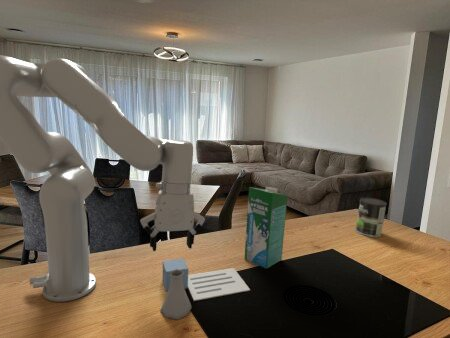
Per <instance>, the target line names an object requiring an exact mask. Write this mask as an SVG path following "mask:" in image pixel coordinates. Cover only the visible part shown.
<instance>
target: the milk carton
mask: <svg viewBox="0 0 450 338" xmlns="http://www.w3.org/2000/svg"><path fill="white" fill-rule="evenodd" d="M278 190H279V189H278V188H275V187H271V186H270V187H269V186H265V188H258V187H251V186H249V187H248V200H247V213H246V231H245V244H244V245H245V246H244V259H245V260H246V261H248V262H250V263H253V264H255V265H257V266H259V267H261V268H264V269H266V270H267V269H268V268H270V267H272V266H273V265H275V264H277V263H278V262H280V261H282V260H283V259H282V258H283V249H284V247H283V246H284V238H285V225H286V215H287V214H286V213H287V204H288V195H287V194H283V193H279V192H278Z"/></svg>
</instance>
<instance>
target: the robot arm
mask: <svg viewBox="0 0 450 338" xmlns="http://www.w3.org/2000/svg"><path fill="white" fill-rule="evenodd" d="M18 97H29V98H30V97H31V98H33V97H34V98H37V97H38V98H57V99H59V100H60V102H62V103H63V104H64V105H66V107H67V108H69V109H70V110H72V112H73V113H75V114H76V115H77V116H78V117H80V118H81V119H82V120H84V121H85V122H86V123H87V124H88V125H89V126H90V127H91V128H92V130H93V131H94V132H95V134H97V136H99V138H101V140H102V141H103V142H104V143H105V144H106V145H107V146H108V147H109V148H110V149H111V150H112V151H113V152H114V153H115V154H116V155H117V156H119V157H120V158H122V159H123V160H124V161H125V162H126V163H127V164H128V165H130V166H131V167H133V168H134V169H136V170H138V171H142V172H148V171H153V170H154V169H156V168H157V167H158V166H159V165H161V166H162V171H161V174H162V175H161V181H160V182H156V183H155V188H156V189H160V190H159V191H158V193H157V196H156V197H157V198H156V200H155V210H154V212H153V213H152V212H151V214H148V215H147V216H144V217H142V218H141V219H140V220H139V221H140V224H141V226H142V228H143V229H144V231H145V232H146V233H147V234H148V235H149V237H150V238H149V247H150V248H152V251H153V252H156V251H157V242H158V237H157V234H158V233H160V232H179V231H180V232H181V231H187V234H186V245H187V247H188V249H190V250H191V249H192V248H193V245H194V244H195V236H196V234H197V232H198V231H199V230H200V229H201V228H202V226H203V224H204V223H205V221H206V218H205V217H204V216H203V215H201V214H199V213H197V212H195V199H194V193H193V192H192V191H191V185H192V173H193V172H192V170H193V157H194V145H193V143H192V142H191V141H188V140H183V139H182V140H181V139H164V138H159V137H154V136H146V135H145V134H144V133H143V132H142V131H141V130H139V129H138V128H137V127H136V126H135V125H134V124H133V123H132V122H131V121H130V120H129V119H128V118H127V117H126V115H125V114H124V113H123V111H122V109H121V108H120V107H121V106H120V105H119V103H118V102H117V101H116V100H115V99H114V97H112V96H111V95H110V94H109V93H108V92H106V91H105V90H104V89H103V88H102V87H101V86H99V85H98V84H97V83H96V82H95V81H94V80H93V79H92V78H91V76H90V74H89V73H88V71H87V70H86V69H85V68H84V67H83V66H81V65H80V64H78V63H76V62H73V61H71V60H68V59H65V58H61V57H59V58H58V57H57V58H53V59H50V60H48V61H46V62H45V63H44V62H43V63H40V62H39V63H38V62H27V61H24V60H21V59H17V58H14V57H12V56H9V55H2V54H0V140H1V141H2V143H3V144H4V145H5V147H6V148H7V149H8V151H9V152H10V153H11V154H12V156H13V157H14V158H15V160H16V161H17V162H18V164H19V165H20V166H21V167H22V168H23V169H24V170H25V171H27V172H30V173H32V174H42V173H46V172H48V173H49V174H50V176H49V177H47V178H46V179H45V181H44V182H43V183H42V184H41V187H40V188H39V190H40V191H39V194H38V195H39V203H40V207H41V210H42V215H43V219H44V220H43V221H44V229H45V242H46V253H47V255H46V256H47V266H48V267H47V269H48V271H47V272H48V273H44V275H35V276H30V278H29V285H30V286H32V289H39V288H42V296H43V297H44V298H45V299H46V300H48V301H50V302H54V303H55V302H57V303H61V302H63V303H64V302H70V301H73V300H77V299H80V298H82V297H84V296H86V295H88V294H89V293H91V292H92V291H93V290H94V289H95V287H96V285H97V278H96V276H95V275H94V274H92V273H91V272H90V256H89V255H90V253H89V235H88V234H89V233H88V219H87V212H86V209H85V200H86V199H87V198H88V196H90V194H91V193H92V192H93V191H94V189H95V186H96V179H95V177H94V173H93V172H92V170H91V168H90V167H89V165H88V164H87V163H86V161H85V160H84V159H83V158H82V156H81V154H80V153H79V152H78V149H76V147H75V146H74V144H73V143H72V142H71V141H70V140H69V139H68V137H66V136H65V135H63V134H61V133H59V132H56V131H45V129H44V128H43V127H42V126H41V125H40V123H39V122H38V121H37V119H36V117H35V116H34V115H33V114H34V113H32V112H31V111H30V109H28V107H26V106H25V105H24V103H22V102H21V100H19V98H18ZM195 220H197V222H196V223H195ZM151 221H153V224H154V225H153V226H151V227H150V226H149V225H148V224H149V222H151Z"/></svg>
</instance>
